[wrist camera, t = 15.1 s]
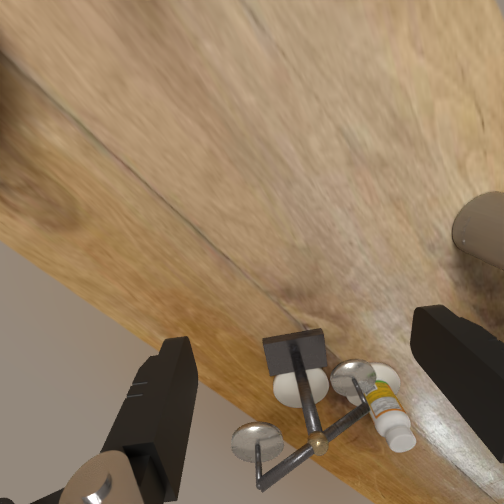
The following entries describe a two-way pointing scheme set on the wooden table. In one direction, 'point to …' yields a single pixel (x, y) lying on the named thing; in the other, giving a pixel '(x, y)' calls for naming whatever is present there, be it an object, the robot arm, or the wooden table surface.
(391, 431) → the supplement bottle
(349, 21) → the wooden table surface
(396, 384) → the dish low side
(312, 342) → the balance
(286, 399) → the dish high side
